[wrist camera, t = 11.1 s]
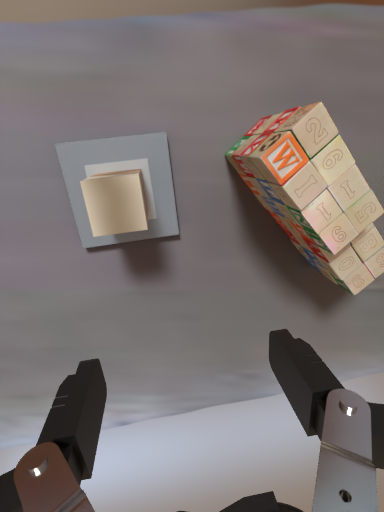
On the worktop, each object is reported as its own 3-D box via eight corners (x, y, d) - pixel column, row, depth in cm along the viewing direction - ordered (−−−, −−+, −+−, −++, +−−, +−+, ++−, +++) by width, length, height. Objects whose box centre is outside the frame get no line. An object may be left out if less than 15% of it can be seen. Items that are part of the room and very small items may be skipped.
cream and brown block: (140, 168, 31) (138, 174, 24) (147, 211, 33) (147, 229, 26) (96, 173, 31) (79, 181, 23) (105, 216, 32) (93, 236, 25)
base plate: (165, 132, 31) (166, 131, 30) (178, 232, 36) (179, 234, 35) (57, 144, 30) (54, 143, 29) (84, 245, 34) (82, 248, 33)
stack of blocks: (344, 238, 40) (421, 274, 29) (310, 266, 41) (372, 311, 30) (261, 116, 32) (323, 98, 21) (222, 154, 33) (260, 157, 22)
